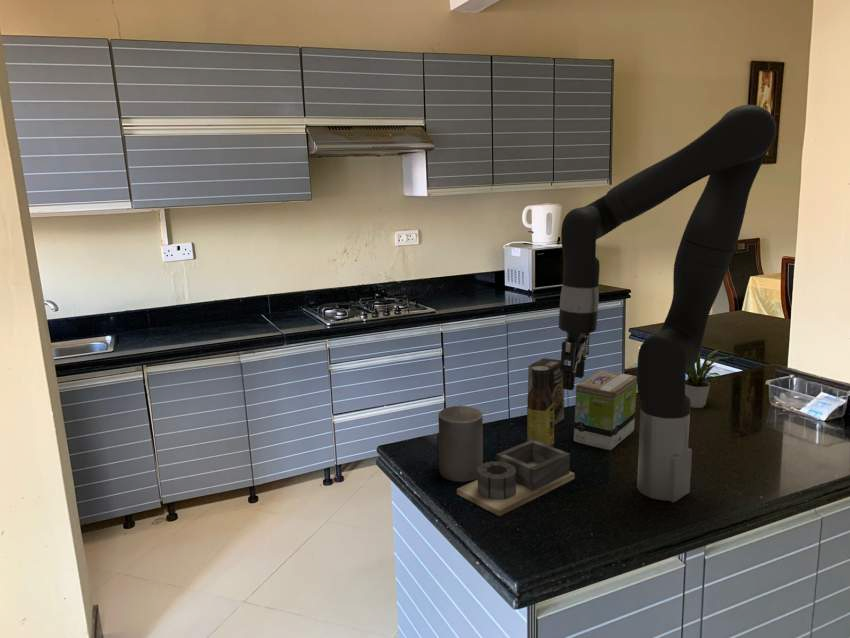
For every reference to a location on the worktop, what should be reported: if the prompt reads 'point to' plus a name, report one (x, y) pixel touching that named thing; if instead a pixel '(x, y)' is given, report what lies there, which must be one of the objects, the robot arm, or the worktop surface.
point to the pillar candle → (460, 443)
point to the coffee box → (552, 385)
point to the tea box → (605, 409)
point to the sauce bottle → (540, 408)
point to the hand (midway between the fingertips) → (573, 382)
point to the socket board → (518, 477)
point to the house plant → (699, 381)
